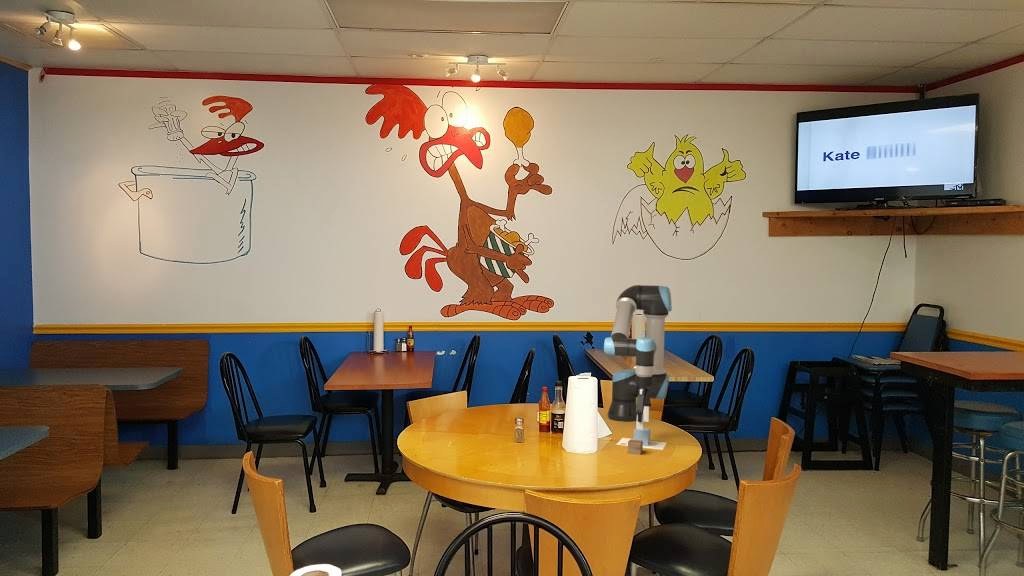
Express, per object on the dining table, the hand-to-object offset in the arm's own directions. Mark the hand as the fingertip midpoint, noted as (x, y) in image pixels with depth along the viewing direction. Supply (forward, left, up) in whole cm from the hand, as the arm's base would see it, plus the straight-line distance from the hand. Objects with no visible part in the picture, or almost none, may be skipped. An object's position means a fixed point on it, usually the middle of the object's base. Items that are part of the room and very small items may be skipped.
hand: (642, 425), depth 316 cm
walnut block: (+16, 0, -8) cm, 18 cm away
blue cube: (+1, 0, -8) cm, 8 cm away
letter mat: (0, 0, -8) cm, 8 cm away
